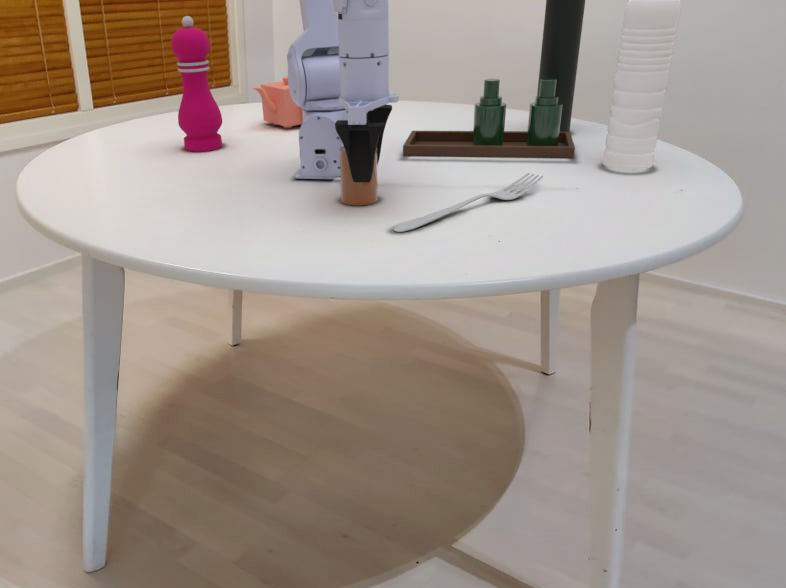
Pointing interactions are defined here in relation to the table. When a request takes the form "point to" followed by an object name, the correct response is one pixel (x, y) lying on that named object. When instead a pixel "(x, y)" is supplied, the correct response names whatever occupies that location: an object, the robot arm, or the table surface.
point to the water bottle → (640, 83)
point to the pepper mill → (196, 89)
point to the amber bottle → (356, 184)
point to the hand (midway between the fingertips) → (366, 173)
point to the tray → (463, 145)
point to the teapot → (279, 104)
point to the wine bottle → (562, 51)
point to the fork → (500, 195)
